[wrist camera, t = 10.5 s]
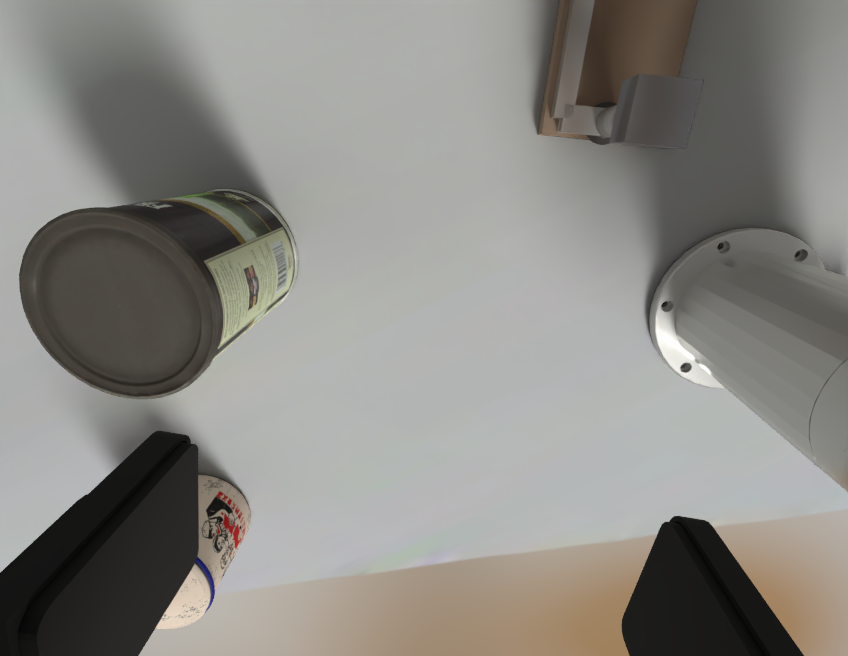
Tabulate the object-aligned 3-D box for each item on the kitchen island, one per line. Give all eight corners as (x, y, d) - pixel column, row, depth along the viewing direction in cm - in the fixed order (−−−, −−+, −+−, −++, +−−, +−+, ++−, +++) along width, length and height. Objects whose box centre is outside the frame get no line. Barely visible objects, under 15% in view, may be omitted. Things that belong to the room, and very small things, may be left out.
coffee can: (144, 223, 37) (-26, 261, 24) (255, 164, 35) (137, 171, 22) (216, 336, 40) (100, 426, 27) (322, 288, 38) (254, 359, 25)
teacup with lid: (264, 543, 48) (209, 658, 37) (179, 549, 48) (99, 664, 37) (232, 440, 44) (158, 535, 33) (139, 448, 44) (37, 544, 33)
